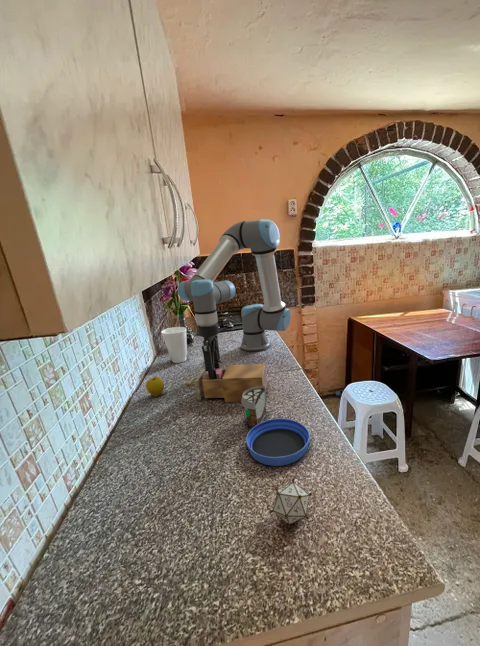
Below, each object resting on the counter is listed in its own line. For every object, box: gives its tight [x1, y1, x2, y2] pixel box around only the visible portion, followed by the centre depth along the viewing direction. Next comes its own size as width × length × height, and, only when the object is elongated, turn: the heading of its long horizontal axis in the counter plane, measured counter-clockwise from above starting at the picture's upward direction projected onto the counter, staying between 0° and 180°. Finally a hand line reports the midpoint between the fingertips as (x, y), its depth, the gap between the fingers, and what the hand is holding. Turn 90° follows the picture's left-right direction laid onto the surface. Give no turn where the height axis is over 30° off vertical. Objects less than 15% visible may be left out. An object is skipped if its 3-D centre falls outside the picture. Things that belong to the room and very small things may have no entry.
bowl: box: [245, 418, 311, 467], centre depth 89 cm, size 18×18×4 cm
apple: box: [145, 376, 165, 398], centre depth 121 cm, size 6×6×8 cm
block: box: [206, 367, 223, 380], centre depth 118 cm, size 5×5×5 cm
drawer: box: [186, 368, 227, 401], centre depth 119 cm, size 18×11×8 cm, turn 89°
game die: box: [268, 477, 314, 530], centre depth 65 cm, size 9×8×10 cm
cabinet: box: [222, 363, 268, 403], centre depth 119 cm, size 15×13×10 cm
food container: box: [240, 386, 267, 429], centre depth 101 cm, size 12×6×10 cm, turn 168°
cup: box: [161, 326, 188, 364], centre depth 155 cm, size 12×12×16 cm
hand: (215, 382), depth 119 cm, fingers closed on block, 5 cm apart
